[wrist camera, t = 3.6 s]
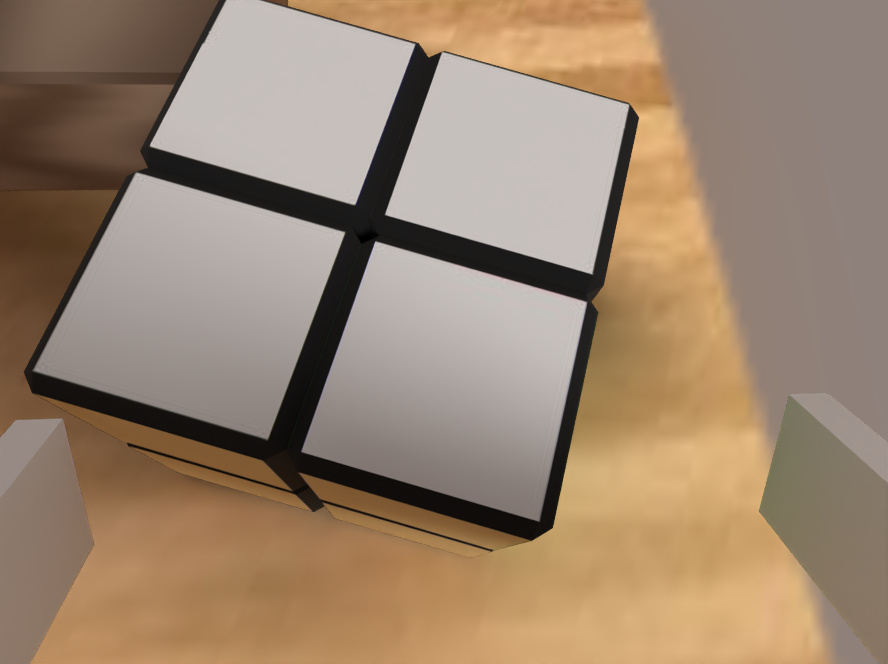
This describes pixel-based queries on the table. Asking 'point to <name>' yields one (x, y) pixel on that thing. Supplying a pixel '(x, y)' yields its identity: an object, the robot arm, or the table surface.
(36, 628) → the robot arm
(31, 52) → the walnut stand
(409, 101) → the puzzle cube
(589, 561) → the table surface
